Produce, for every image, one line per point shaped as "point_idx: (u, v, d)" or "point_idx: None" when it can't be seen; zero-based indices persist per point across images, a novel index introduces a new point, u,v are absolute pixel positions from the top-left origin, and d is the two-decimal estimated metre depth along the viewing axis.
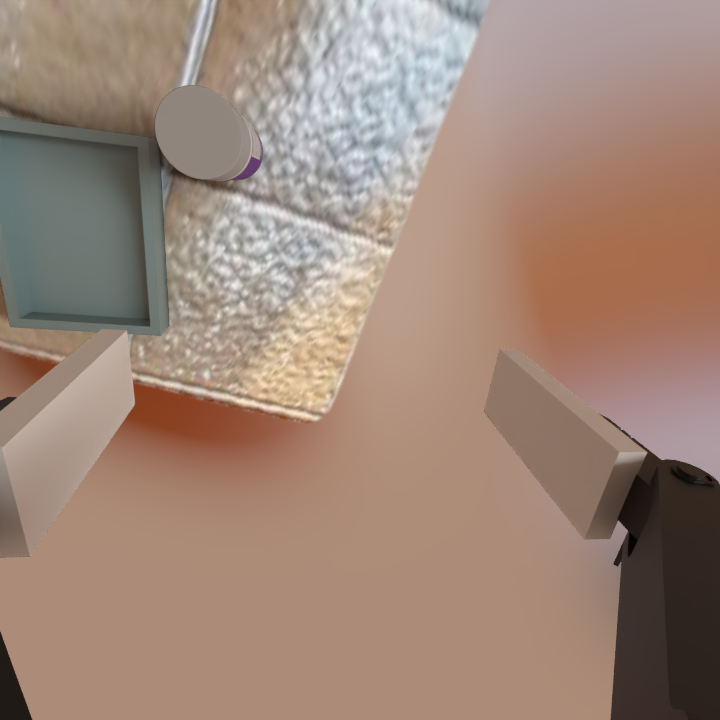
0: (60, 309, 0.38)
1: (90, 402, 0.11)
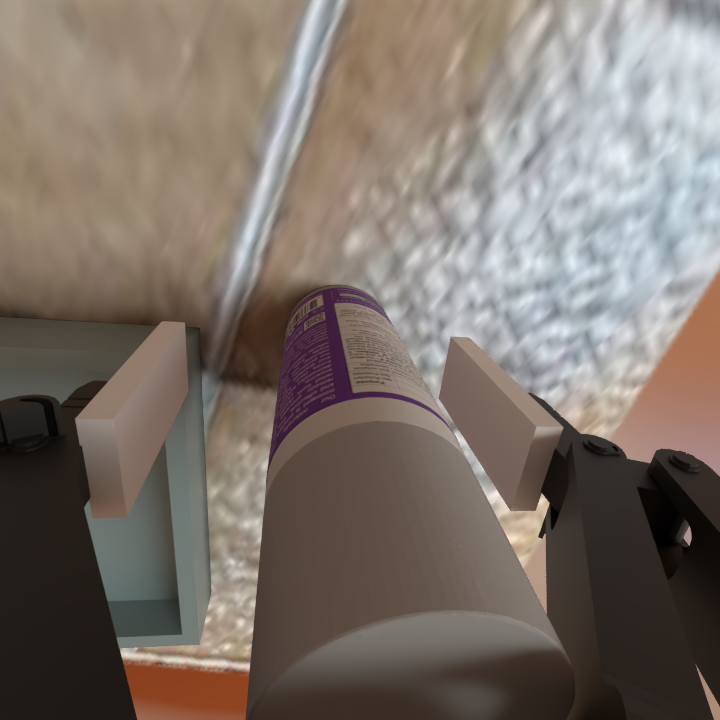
0: None
1: (162, 386, 0.13)
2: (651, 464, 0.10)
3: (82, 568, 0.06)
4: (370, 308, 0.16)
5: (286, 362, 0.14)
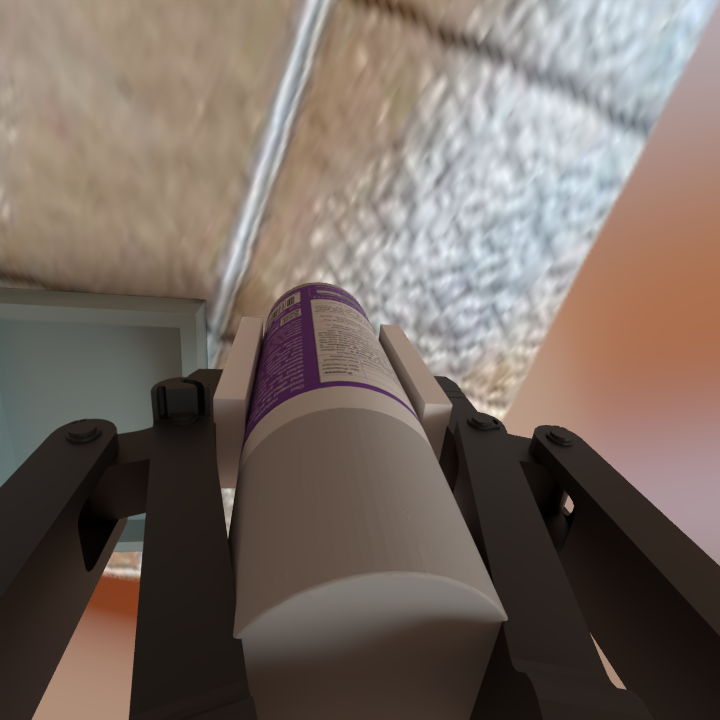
0: None
1: None
2: (532, 442, 0.11)
3: (214, 535, 0.07)
4: (346, 304, 0.16)
5: (262, 357, 0.14)
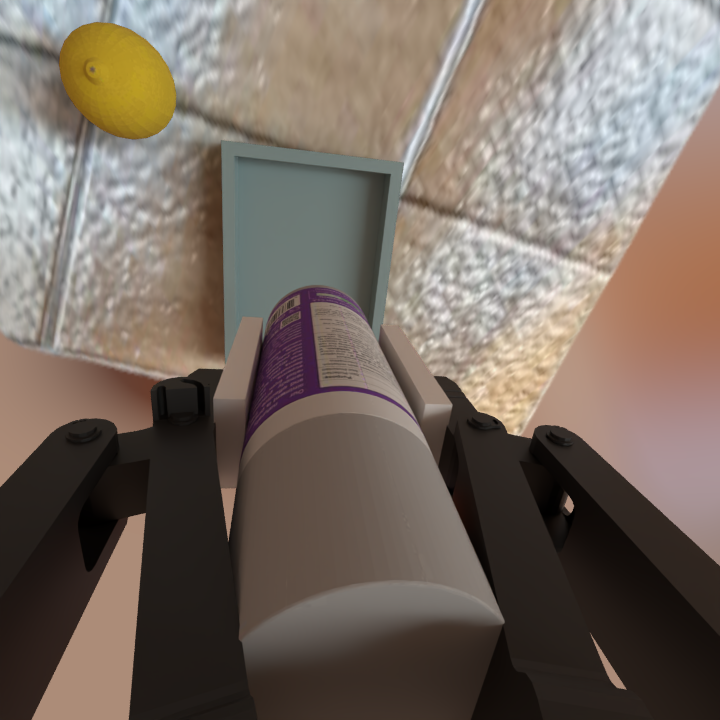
0: None
1: (256, 374, 0.14)
2: (532, 442, 0.11)
3: (214, 535, 0.07)
4: (346, 307, 0.16)
5: (262, 360, 0.14)
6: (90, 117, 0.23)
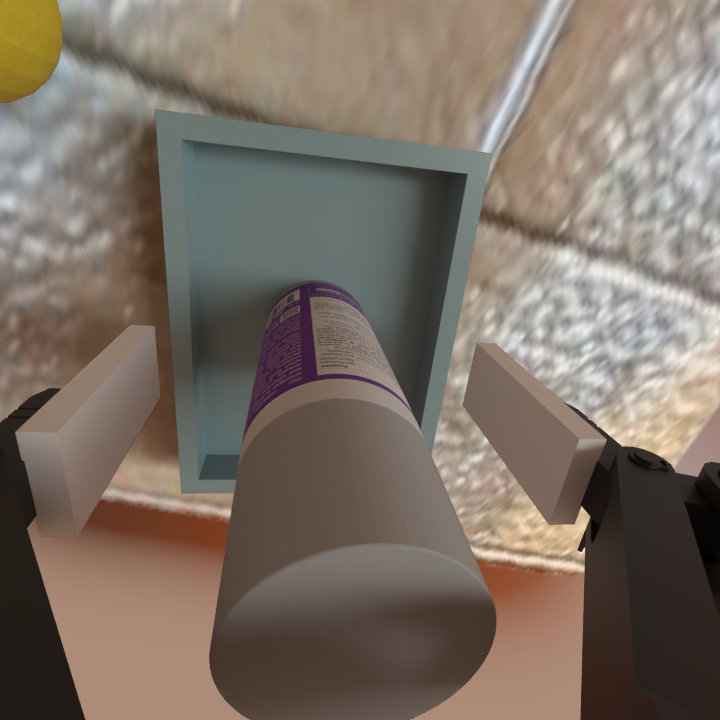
0: None
1: (125, 393, 0.12)
2: (699, 477, 0.10)
3: (25, 588, 0.06)
4: (344, 301, 0.17)
5: (262, 352, 0.14)
6: None
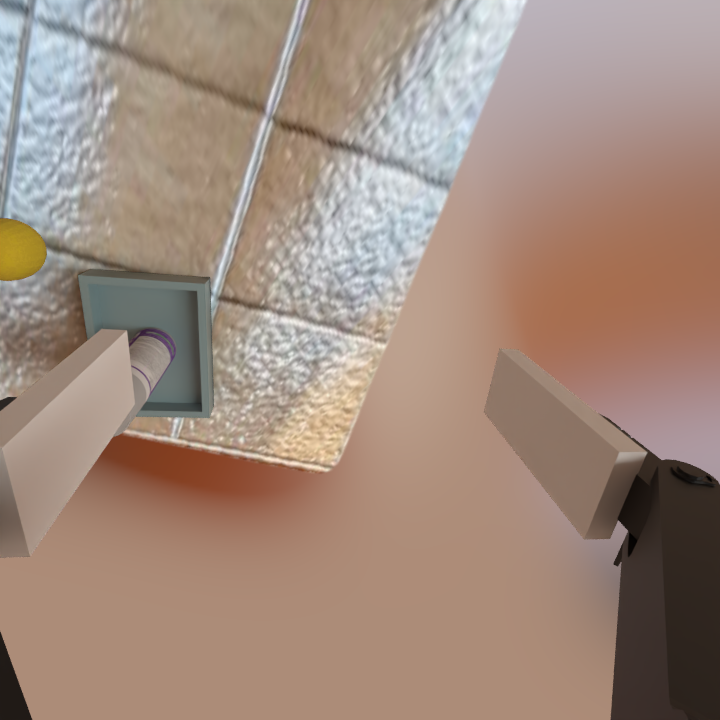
0: None
1: (90, 402, 0.11)
2: None
3: None
4: (153, 337, 0.45)
5: None
6: None
